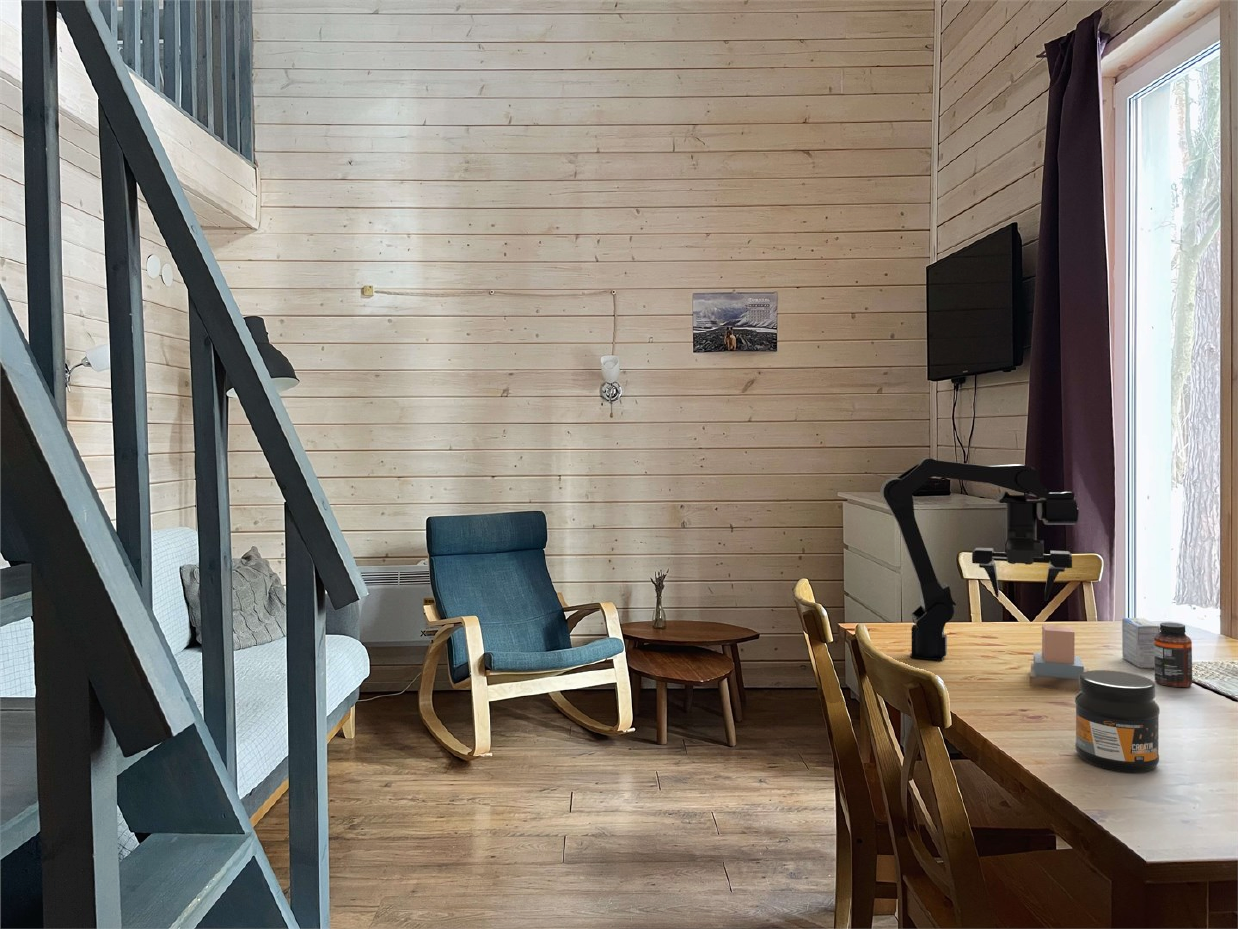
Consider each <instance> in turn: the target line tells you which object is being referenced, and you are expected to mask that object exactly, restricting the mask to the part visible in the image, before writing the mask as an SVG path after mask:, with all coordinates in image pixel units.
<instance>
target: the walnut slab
mask: <svg viewBox="0 0 1238 929" xmlns="http://www.w3.org/2000/svg"><path fill="white" fill-rule="evenodd" d="M1029 671H1030V672H1029V686H1030V687H1038V688H1039V687H1040V688H1047V689H1049V688H1050V689H1056V690H1057V689H1058V690H1066V691H1077V692H1080V691H1081V690H1080V689H1079V679H1068V678H1057V677H1046V676H1036V675H1035V670H1034V662H1031V663H1030V670H1029ZM1086 671H1090V669H1089V668H1084V672H1086Z"/></svg>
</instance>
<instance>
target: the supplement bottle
mask: <svg viewBox="0 0 1238 929" xmlns="http://www.w3.org/2000/svg"><path fill="white" fill-rule="evenodd" d="M1159 626H1160V633H1159V634H1157V635H1156V636H1155V638H1154V659H1155V668H1154V681H1155V682H1156V683H1157V684H1160V685H1162V686H1165V687H1166V686H1167V687H1172V688H1188V687H1191V686H1192V684H1193V645H1192V644H1193V641H1192V639H1191V638H1190V636H1188V635H1187V634H1186V625H1185V624H1183V623H1180V622H1169V621H1168V622H1167V621H1166V622H1160V623H1159Z"/></svg>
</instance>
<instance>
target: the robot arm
mask: <svg viewBox="0 0 1238 929" xmlns="http://www.w3.org/2000/svg"><path fill="white" fill-rule="evenodd" d="M932 478H942V479H950V480H951V479H952V480H957V481H965V482H966V481H967V482H975V483H984V484H989V485H993V486H996V487H1000V488H1002V489H1007V490H1010V491H1014V492H1016V493H1023V494H1009V492H1008V491H1004V490H1003V492H1001V494H1000V495H999V496H998V497H997V498H995V502H996V503H998V504H1005V530H1006V531H1005V532H1006V534H1005V539H1006V540H1005V546H1004V548H1005V552H1004V551H1002V552H999V551H994V547H993V548H992V547H976V548H974V549H973V550H972V551H971V552H972V554H971V563H972V564H978V568H980V569H984V570H985V573H986V574H987V576H988V578H989V581H990V582H991V586H992V589H993V591H994V594H995V597H996V598H999V582H998V575H997V574H998V573H997V565H996V562H997V561H998V562H1007V564H1011V565H1015V564H1024V565H1026V566H1027V565H1033V564H1035V563H1038V564H1039V563H1040V564H1041V563H1043V564H1048V569H1047V575H1046V584H1045V589H1044V601H1048V599H1049V596H1050V592H1051V590H1052V587H1053V585H1054V582H1055V581H1056V579H1057V577H1058V575H1059V574H1060V573H1064V572H1065V571H1066V569H1072V568H1073V554H1072V553H1071V552H1070V551H1067V550H1050V554H1048V553H1047V554H1046V553H1045V544H1044V543H1045V542H1044V540H1043V539H1042V540H1041V539H1040V540H1039V539H1037V519H1038V520H1040V521H1041V520H1042V522H1043V524H1044V525H1058V526H1059V525H1065V526H1066V525H1071V526H1072V525H1076V524H1077V522H1078V520H1079V508H1078V504H1077V503H1078V502H1077V501H1076V498H1075V493H1074V492H1073V491H1062V492H1049V491H1048V490H1047V489H1046V488H1045V487H1044V485H1043V484H1042V483H1041V481H1040V475H1039V473H1038V471H1037V470H1036V469H1035V467H1033V466H1031V465H1028V464H1027V465H1026V464H1018V463H1017V464H998V465H982V464H972V463H962V462H955V461H947V460H940V459H939V460H938V459H934V458H931V457H925V458H923V459H921V460H920V461H918V463H917V464H915V465H914V466H912V467H910V468H909V469H907V470H906V471H904V472H903V473H901V474H900V475H899V476H897V477H890V478H888V479H886V480H885V481H884V482H883V483H882V485H881V486H880V490H879V491H880V495H881V498H882V499H883V502H884V503H885V504H886V506H887V508H888V511H889V512H890V513H891V514H892V516H893V518H894V519H895V521H896V523H897V526H898V530H899V532H900V534H901V537H902V541H903V543H904V545H905V548H906V552H907V554H908V557H909V559H910V560H909V561H910V562H911V565H912V568H913V571H914V573H915V577H916V579H917V583H918V594H919V601H920V605H919V606H918V607H917V608H916V609H915V610H914V611H913V612H911V613H910V617H911V619H912V622H913V625H912V626H911V633H910V634H911V639H910V640H911V653H910V655H909V658H911V657H912V658H911V659H918V660H919V659H921V660H928V661H929V660H931V661H940V662H942V661H943V660H944V659H945V658H944V657H946V656H947V655H948V648H947V647H948V645H947V644H948V637H947V636H948V635H947V634H945V626H946V624H947V623H949V622H950V621H951V620H952V619H953V616H954V614H955V608H954V606H956V605H957V604H956V602H955V601H954V599H953V597H952V593H951V592H952V591H951V588H950V586H949V585H948V584H947V583H946V582H944V581H943V582H939V579H938V578H937V575H936V573H935V570H934V567H933V565H932V561H931V559H930V555H929V554H928V550H927V547H926V544H925V542H924V540H923V536H922V534H921V532H920V528H919V526H918V523H917V519H916V516H915V505H914V498H913V493H914V492H916V491H917V490H918V489H919V488H921V487H922V486H923V485H925V484H926V483H927V482H928V481H929V480H930V479H932ZM1024 494H1026V495H1028V496H1030V497H1031V496H1032V497H1035V498H1039V499H1027V497H1026V495H1024ZM995 561H996V562H995Z"/></svg>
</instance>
